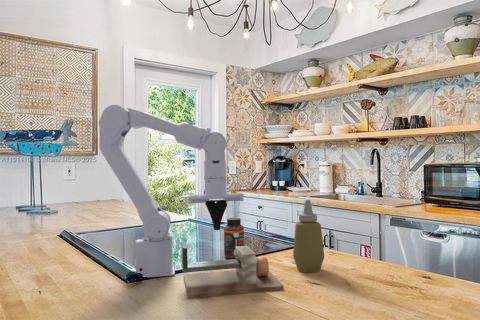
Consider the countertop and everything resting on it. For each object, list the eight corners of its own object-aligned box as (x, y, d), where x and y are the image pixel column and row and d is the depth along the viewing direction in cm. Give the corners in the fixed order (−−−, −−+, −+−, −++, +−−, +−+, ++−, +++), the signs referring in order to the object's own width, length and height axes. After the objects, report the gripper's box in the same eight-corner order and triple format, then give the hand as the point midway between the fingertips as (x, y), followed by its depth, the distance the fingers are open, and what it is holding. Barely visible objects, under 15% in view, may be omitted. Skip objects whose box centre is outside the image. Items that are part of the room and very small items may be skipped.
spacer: (257, 256, 88) (267, 255, 89) (253, 259, 92) (262, 258, 92) (259, 275, 86) (269, 274, 87) (255, 278, 90) (264, 277, 91)
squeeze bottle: (327, 267, 98) (326, 198, 98) (320, 276, 91) (319, 202, 91) (298, 263, 102) (296, 198, 102) (289, 272, 94) (287, 201, 94)
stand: (188, 298, 78) (187, 262, 78) (183, 277, 91) (182, 247, 91) (283, 289, 82) (283, 255, 82) (265, 270, 96) (265, 241, 96)
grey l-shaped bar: (183, 273, 82) (182, 248, 82) (181, 266, 87) (181, 243, 87) (249, 267, 85) (248, 243, 85) (244, 261, 90) (244, 239, 90)
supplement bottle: (242, 259, 107) (241, 220, 107) (222, 258, 108) (221, 220, 108) (246, 254, 113) (245, 217, 113) (226, 253, 114) (226, 216, 114)
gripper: (188, 179, 93) (190, 234, 93) (245, 177, 96) (247, 230, 96) (186, 178, 100) (188, 229, 100) (239, 176, 103) (241, 225, 103)
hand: (216, 229), depth 98 cm, fingers closed
